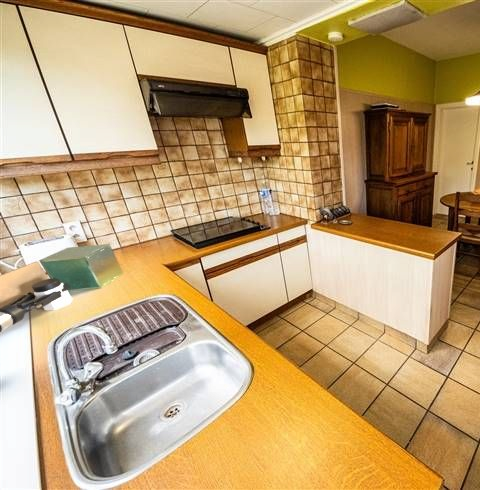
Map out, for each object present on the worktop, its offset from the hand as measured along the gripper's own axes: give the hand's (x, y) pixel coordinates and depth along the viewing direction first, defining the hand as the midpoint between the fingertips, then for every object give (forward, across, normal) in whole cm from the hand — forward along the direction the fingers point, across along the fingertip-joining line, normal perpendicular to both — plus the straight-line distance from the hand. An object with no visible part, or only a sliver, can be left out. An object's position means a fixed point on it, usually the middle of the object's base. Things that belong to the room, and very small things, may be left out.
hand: (58, 286), depth 122 cm
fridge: (+15, 0, -7) cm, 17 cm away
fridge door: (-3, -14, -7) cm, 16 cm away
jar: (-5, +1, -7) cm, 9 cm away
